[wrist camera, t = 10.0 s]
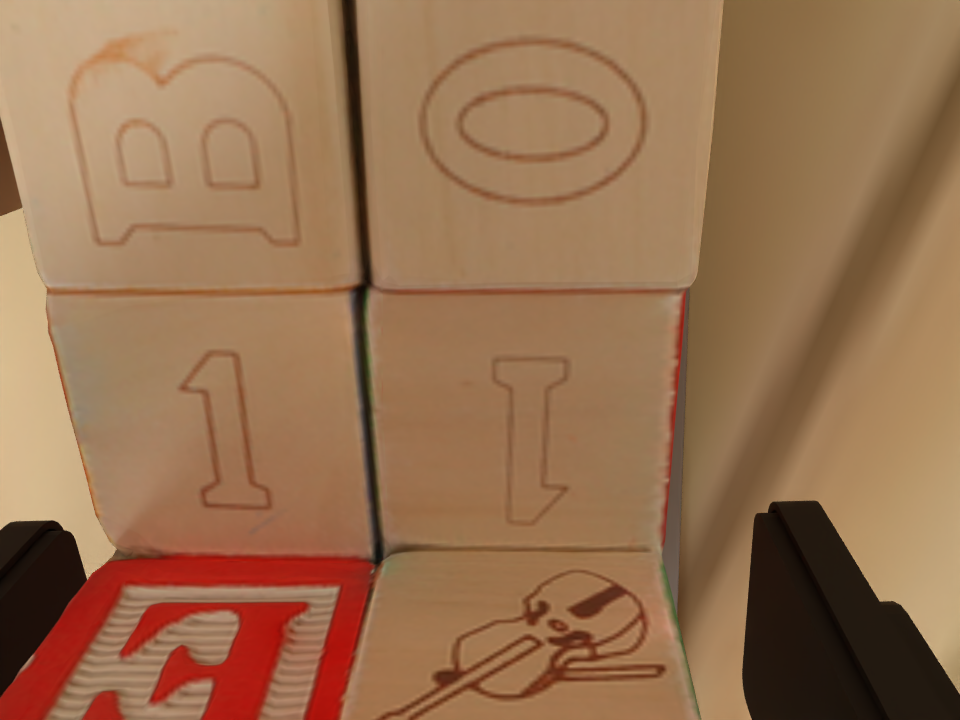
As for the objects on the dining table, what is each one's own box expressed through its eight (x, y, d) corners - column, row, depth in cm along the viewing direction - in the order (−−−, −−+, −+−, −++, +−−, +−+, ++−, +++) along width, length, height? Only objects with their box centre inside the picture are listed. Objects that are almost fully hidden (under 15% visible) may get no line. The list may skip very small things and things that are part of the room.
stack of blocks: (252, -229, 14) (-908, -1271, 3) (627, -238, 14) (1144, -1459, 2) (345, 729, 22) (161, 1478, 11) (580, 735, 22) (645, 1513, 11)
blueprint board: (664, 760, 24) (671, 794, 23) (317, 762, 24) (308, 795, 23) (700, -334, 14) (715, -360, 13) (126, -281, 15) (97, -303, 14)
